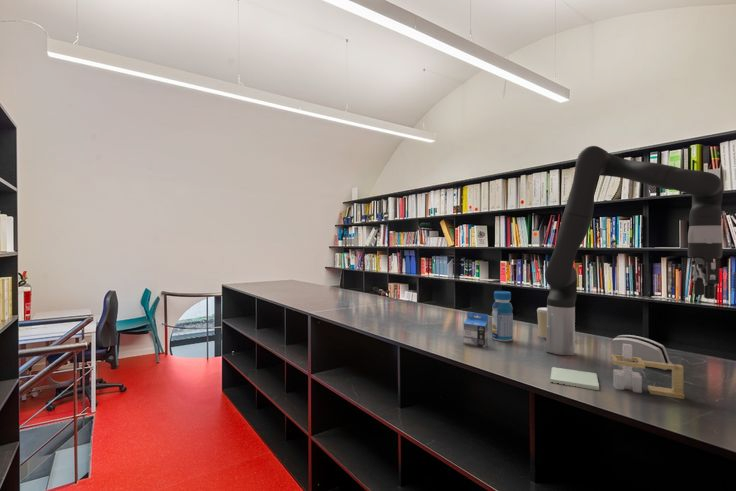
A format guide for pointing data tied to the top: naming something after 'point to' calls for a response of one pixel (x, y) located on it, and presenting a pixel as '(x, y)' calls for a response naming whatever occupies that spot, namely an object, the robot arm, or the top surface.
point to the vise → (627, 374)
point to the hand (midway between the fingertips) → (703, 296)
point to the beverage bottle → (502, 316)
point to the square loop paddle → (676, 369)
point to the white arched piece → (641, 348)
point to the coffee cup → (542, 322)
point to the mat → (574, 378)
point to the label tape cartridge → (476, 329)
